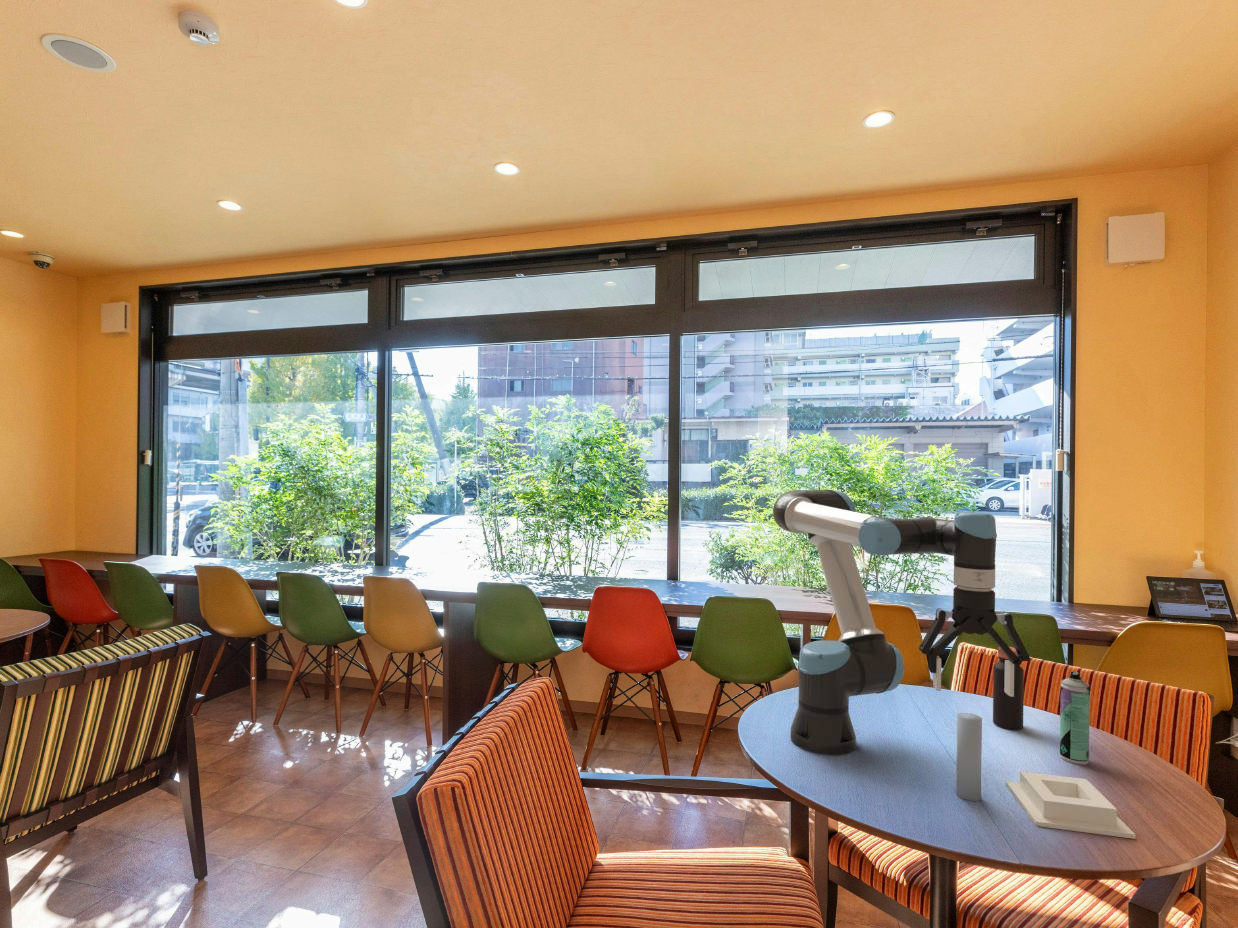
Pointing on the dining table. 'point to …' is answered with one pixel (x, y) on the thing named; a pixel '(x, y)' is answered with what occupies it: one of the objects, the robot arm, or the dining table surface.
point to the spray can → (1074, 720)
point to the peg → (969, 756)
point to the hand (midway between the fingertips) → (972, 691)
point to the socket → (1067, 804)
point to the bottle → (1007, 696)
